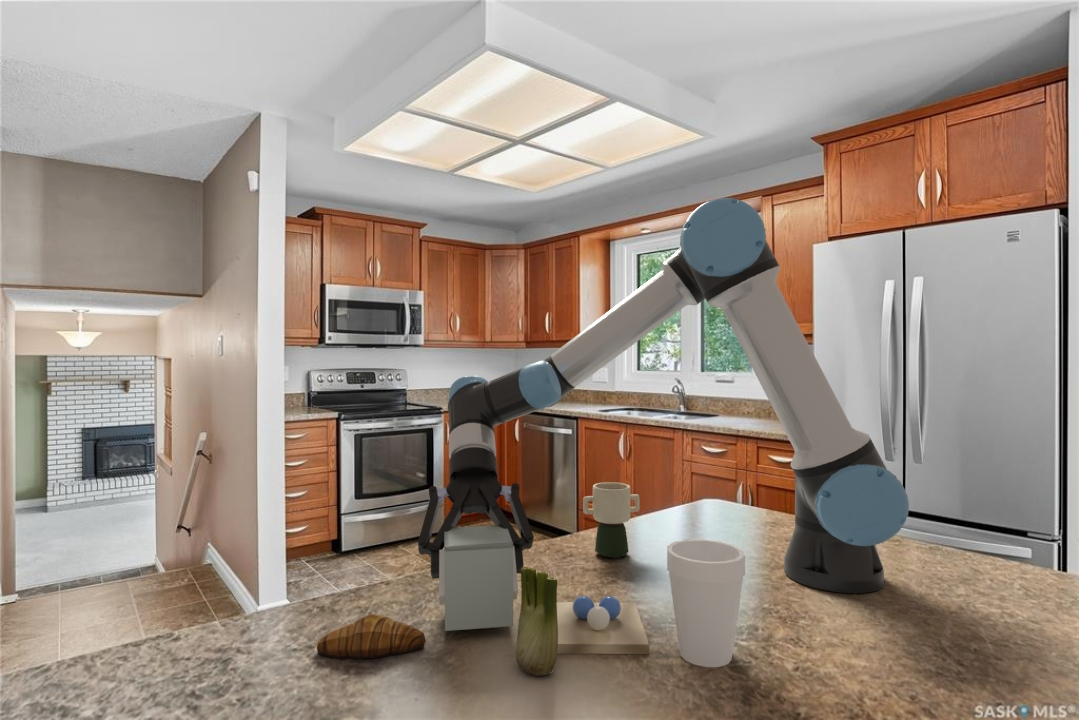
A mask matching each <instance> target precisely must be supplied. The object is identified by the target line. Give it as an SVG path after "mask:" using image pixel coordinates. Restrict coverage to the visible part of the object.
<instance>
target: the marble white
mask: <svg viewBox="0 0 1079 720" xmlns="http://www.w3.org/2000/svg"><path fill="white" fill-rule="evenodd" d="M587 621H588V624H589V625H590V627H591V628H593V629H594V630H598V631H600V630H604V629H605V628H606V627H607V626H608V625H609V622H610V615H609V613H608V611H607V610H606V609H605V608H604V607H601V606H595V607H593V608H591V609H590V610H589V612H588V615H587Z"/></svg>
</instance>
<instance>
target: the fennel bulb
mask: <svg viewBox="0 0 1079 720" xmlns="http://www.w3.org/2000/svg"><path fill="white" fill-rule="evenodd" d="M520 585H521V591H520V593H521V598H520V599H521V602H520V603H521V605H520V611H519V618H518V625H517V634H516V635H517V638H516V647H515V648H516V649H515V660H516V664H517V665H518V667H519V668H520V669H521V670H522V671H524V672H525V673H527V674H528V675H532V676H536V677H537V676H547V675H551V674H552V673H553V671H554V668H555V665H556V662H557V658H558V653H557V649H558V622H557V602H558V601H557V599H558V597H557V594H558V579H557V578H556V577H555V576H549V573H548V572H547V571H540V570H539V571H537V569H536V568H534V567H533V568H531V567H529V566H523V567H522V568H521V573H520Z"/></svg>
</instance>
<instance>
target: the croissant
mask: <svg viewBox="0 0 1079 720" xmlns="http://www.w3.org/2000/svg"><path fill="white" fill-rule="evenodd" d="M425 644H426V637H425V633H424V632H423V631H421V630H420V629H418V628H417V627H415V626H412V625H410V624H406V623H405V622H404V623H403V622H401V621H397V620H392V619H391V618H389V617H388V616H386V615H380V614H373V613H371V614H368V615H366V616H363V617H361V618H359V619H358V620H356V621H355V622H353V623H350V624H346V625H343V626H342V627H340V628H337V629H335V630H332V631H330V632H329V633H327V634H326V635H324V636H323V637H321V638H319V640H318V641H317V644H316V645H317V646H316V651H317V655H320V656H324V657H328V658H337V659H349V658H350V659H365V660H369V659H375V658H376V659H377V658H382V657H387V656H394V655H395V656H397V655H402V654H407V653H412V652H415V651H417V650H420V649H423V648H424V647H425Z"/></svg>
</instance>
